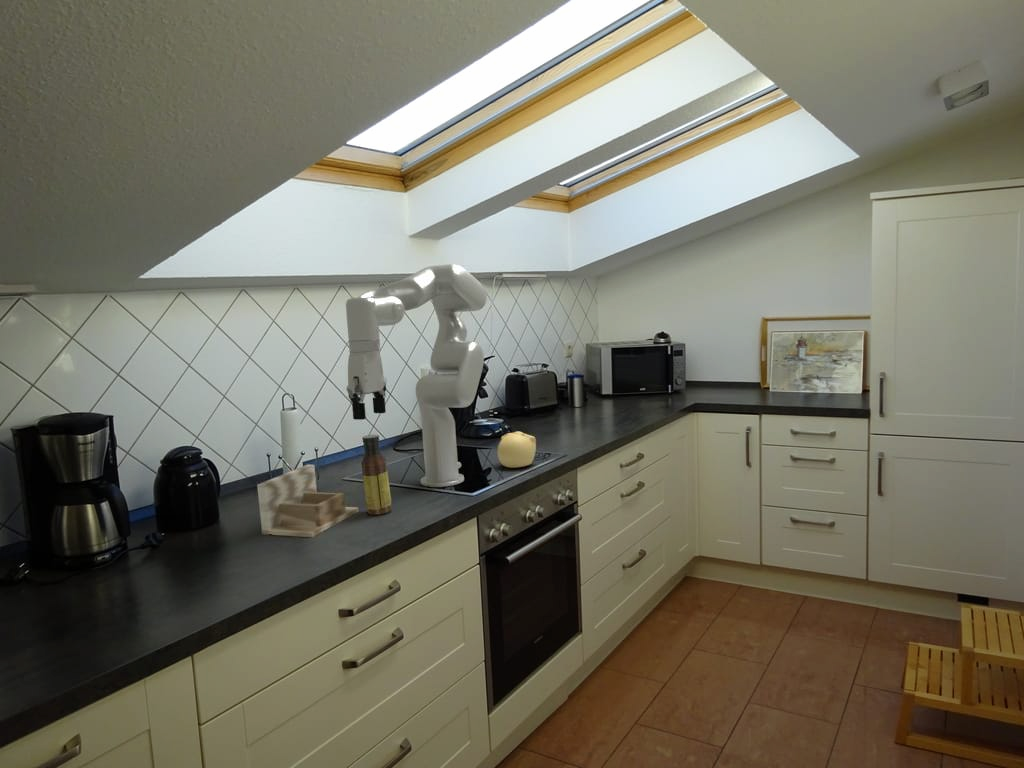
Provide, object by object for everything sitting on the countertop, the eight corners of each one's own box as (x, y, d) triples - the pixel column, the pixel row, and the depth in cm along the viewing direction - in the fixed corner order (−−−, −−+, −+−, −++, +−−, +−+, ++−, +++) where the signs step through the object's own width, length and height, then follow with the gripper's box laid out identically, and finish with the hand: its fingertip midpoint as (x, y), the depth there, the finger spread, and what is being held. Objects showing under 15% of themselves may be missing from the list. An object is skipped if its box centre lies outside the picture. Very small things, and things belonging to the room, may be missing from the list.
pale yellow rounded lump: (541, 462, 225) (539, 428, 224) (527, 471, 214) (525, 436, 213) (507, 461, 229) (505, 428, 228) (492, 470, 218) (490, 435, 217)
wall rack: (312, 509, 187) (307, 464, 186) (358, 511, 182) (354, 465, 181) (262, 534, 168) (257, 484, 167) (312, 537, 164) (307, 486, 162)
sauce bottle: (389, 507, 184) (383, 432, 182) (393, 513, 179) (387, 436, 176) (364, 511, 182) (357, 435, 180) (367, 517, 177) (360, 439, 174)
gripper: (369, 345, 185) (374, 410, 187) (331, 350, 169) (337, 421, 170) (395, 344, 182) (399, 410, 184) (359, 349, 166) (365, 422, 168)
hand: (369, 416), depth 177 cm, fingers open, 9 cm apart
